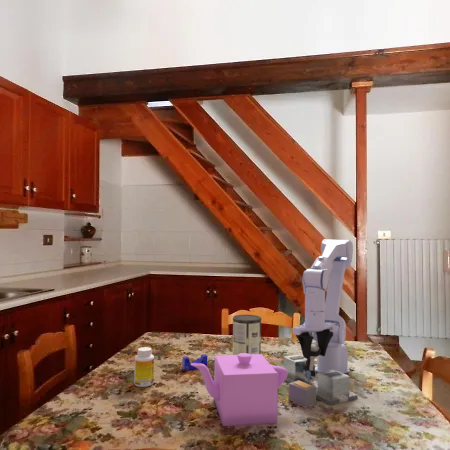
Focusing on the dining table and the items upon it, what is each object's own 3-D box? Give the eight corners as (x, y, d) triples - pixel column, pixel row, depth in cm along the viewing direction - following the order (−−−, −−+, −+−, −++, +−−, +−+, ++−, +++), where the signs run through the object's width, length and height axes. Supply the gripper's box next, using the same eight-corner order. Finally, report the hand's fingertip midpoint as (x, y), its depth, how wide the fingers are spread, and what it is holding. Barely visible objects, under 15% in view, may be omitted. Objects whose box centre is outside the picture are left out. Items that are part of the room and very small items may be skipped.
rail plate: (301, 371, 131) (301, 351, 131) (357, 398, 110) (357, 375, 110) (275, 375, 126) (276, 355, 126) (329, 405, 105) (329, 381, 105)
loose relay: (298, 396, 111) (298, 379, 111) (316, 404, 106) (316, 385, 106) (288, 400, 108) (288, 382, 108) (306, 408, 104) (306, 389, 104)
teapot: (187, 400, 107) (188, 347, 107) (278, 396, 111) (279, 344, 111) (191, 428, 92) (192, 366, 92) (297, 422, 96) (297, 362, 96)
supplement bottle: (155, 386, 116) (155, 350, 116) (135, 388, 114) (136, 352, 114) (151, 379, 121) (152, 345, 121) (132, 381, 119) (133, 347, 119)
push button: (321, 384, 117) (326, 351, 115) (303, 383, 116) (308, 350, 115) (313, 372, 123) (318, 341, 122) (297, 372, 122) (301, 340, 121)
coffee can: (241, 350, 153) (241, 313, 153) (265, 355, 147) (266, 316, 148) (226, 357, 144) (227, 317, 144) (252, 362, 139) (252, 321, 139)
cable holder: (203, 364, 136) (203, 352, 136) (207, 368, 133) (207, 355, 133) (180, 367, 133) (180, 355, 133) (184, 371, 130) (184, 358, 130)
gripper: (323, 306, 126) (323, 349, 125) (286, 309, 118) (286, 356, 118) (340, 310, 119) (339, 356, 119) (302, 314, 112) (302, 363, 112)
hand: (314, 356), depth 118 cm, fingers closed on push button, 5 cm apart
